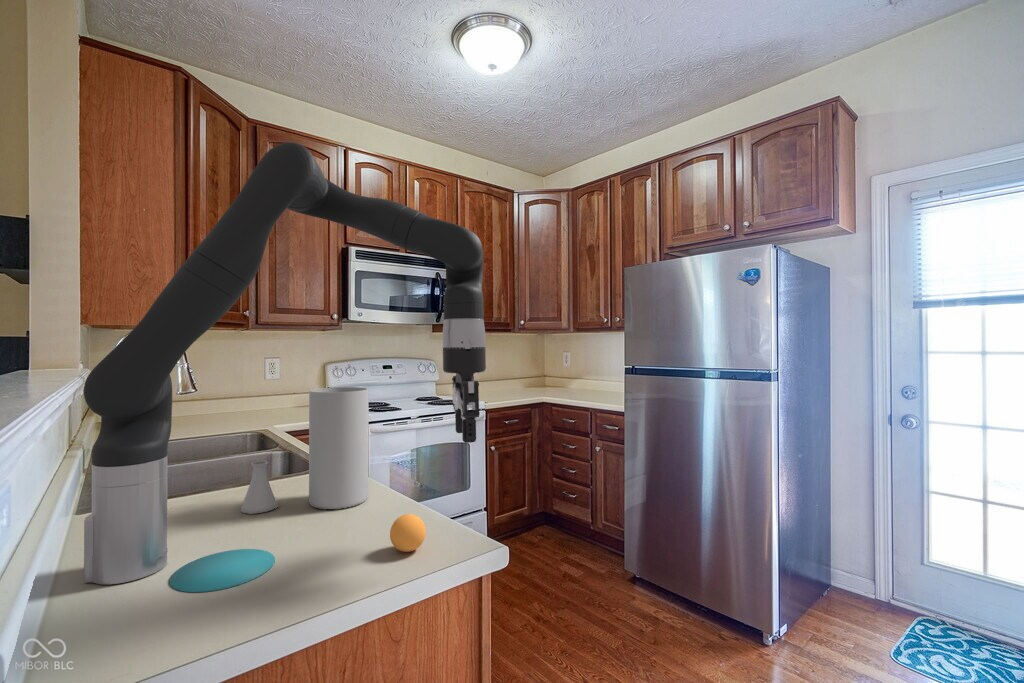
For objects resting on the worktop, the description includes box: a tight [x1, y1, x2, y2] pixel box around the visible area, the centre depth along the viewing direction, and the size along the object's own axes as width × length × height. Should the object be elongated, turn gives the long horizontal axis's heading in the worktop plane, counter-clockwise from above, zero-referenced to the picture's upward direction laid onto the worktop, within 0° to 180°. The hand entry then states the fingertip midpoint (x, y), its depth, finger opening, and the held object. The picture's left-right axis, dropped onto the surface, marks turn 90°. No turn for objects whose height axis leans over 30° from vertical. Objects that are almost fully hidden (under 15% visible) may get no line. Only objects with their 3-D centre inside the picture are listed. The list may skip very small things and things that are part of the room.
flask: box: [240, 460, 279, 515], centre depth 103 cm, size 7×7×10 cm
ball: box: [389, 513, 427, 553], centre depth 82 cm, size 6×6×6 cm
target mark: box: [169, 548, 276, 593], centre depth 75 cm, size 14×14×1 cm
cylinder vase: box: [308, 386, 370, 510], centre depth 108 cm, size 12×12×25 cm
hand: (465, 437), depth 85 cm, fingers open, 8 cm apart
